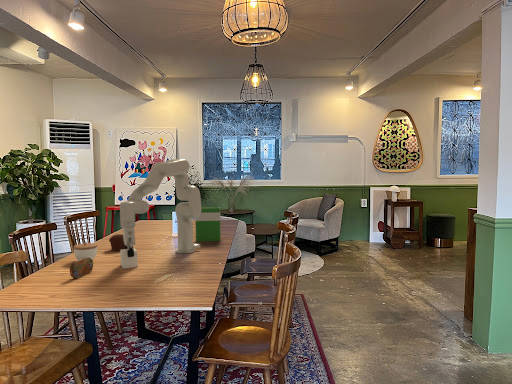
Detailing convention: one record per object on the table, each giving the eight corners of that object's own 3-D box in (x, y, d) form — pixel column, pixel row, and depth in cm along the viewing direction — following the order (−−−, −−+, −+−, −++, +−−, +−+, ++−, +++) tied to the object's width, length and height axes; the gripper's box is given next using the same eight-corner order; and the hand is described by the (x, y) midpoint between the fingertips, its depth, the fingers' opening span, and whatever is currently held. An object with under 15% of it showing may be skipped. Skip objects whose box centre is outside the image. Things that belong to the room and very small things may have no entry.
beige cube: (135, 263, 210) (134, 248, 210) (137, 266, 204) (137, 250, 203) (120, 265, 207) (120, 249, 206) (122, 268, 200) (122, 252, 199)
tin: (74, 280, 180) (73, 263, 179) (68, 280, 181) (67, 263, 180) (93, 271, 195) (93, 255, 194) (88, 271, 195) (87, 255, 195)
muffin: (127, 247, 254) (126, 232, 253) (129, 250, 244) (128, 235, 243) (108, 248, 248) (107, 234, 248) (109, 252, 239) (109, 236, 238)
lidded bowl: (85, 257, 226) (85, 239, 225) (102, 258, 222) (101, 240, 221) (69, 262, 214) (68, 243, 213) (86, 264, 210) (85, 244, 209)
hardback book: (195, 241, 271) (195, 208, 270) (197, 239, 279) (196, 207, 277) (220, 240, 272) (219, 208, 271) (220, 238, 280) (220, 207, 278)
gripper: (138, 225, 198) (139, 257, 199) (132, 221, 213) (133, 250, 214) (123, 227, 194) (124, 259, 196) (118, 222, 209) (119, 252, 211)
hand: (129, 254), depth 205 cm, fingers open, 9 cm apart
